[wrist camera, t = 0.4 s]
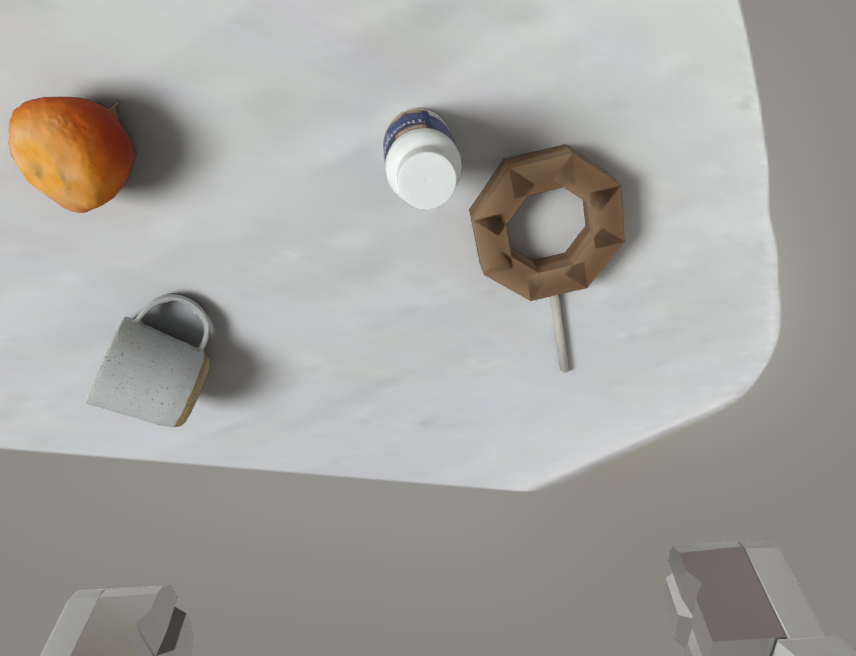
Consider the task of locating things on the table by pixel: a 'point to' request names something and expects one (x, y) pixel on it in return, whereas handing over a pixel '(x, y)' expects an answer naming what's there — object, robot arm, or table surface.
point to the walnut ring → (534, 177)
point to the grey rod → (559, 333)
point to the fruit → (71, 150)
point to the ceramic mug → (152, 370)
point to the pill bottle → (421, 158)
